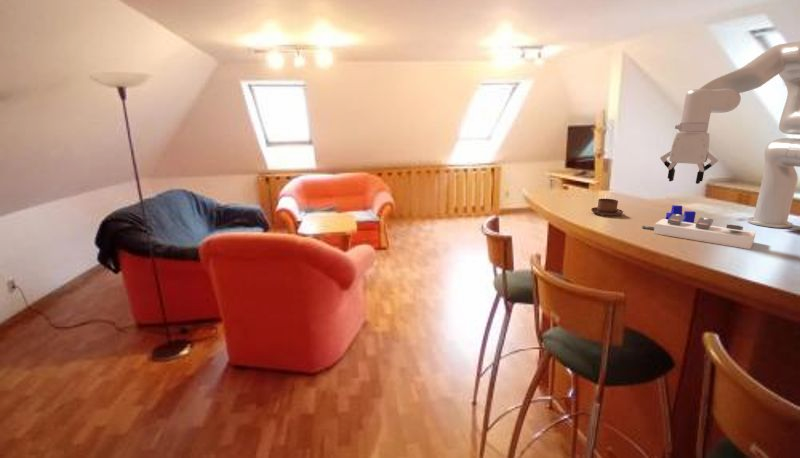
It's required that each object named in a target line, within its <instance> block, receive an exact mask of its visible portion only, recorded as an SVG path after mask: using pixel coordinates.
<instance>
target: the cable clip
mask: <svg viewBox="0 0 800 458" xmlns="http://www.w3.org/2000/svg"><path fill="white" fill-rule="evenodd" d="M696 213H697V212H696V211H692V210H689V211H688V210H685V211H684V213H683V206H682V205H677V204H676V205H675V204H672V205H671V210H670V212H666V215H665V219H669V218H670V217H671V215H672V214H680V215H685V218H684V220H683V221H682V222H689V223H695V218H696Z"/></svg>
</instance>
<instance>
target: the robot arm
mask: <svg viewBox="0 0 800 458" xmlns="http://www.w3.org/2000/svg"><path fill="white" fill-rule="evenodd" d="M777 75H779V77H780V78H781V79H782V81H783V82H784V83H785V87H786V90H787V96H786V98H785V99H786V100H785V103H784V107H783V109H782V113H781V117H780V119H779V123H778V130H779V131H780V132H781V133H782V134H786V135H795V136H796V135H797V136H800V40H799V41H792V42H786V43H785V42H784V43H781V44H777V45H774V46H772V47H770V48H768V49H767V50H765V51H763V52H762V53H761V54H760V55H758V56H756V57H755V58H754V59H753V60H751V61H750V62H748V63H746V65H744V66H742V67H740V68H737V69H735V70H733V71H730V72H728V73H726V74H724V75H721V76H719V77H716V78H714V79H712V80H710V81H709V82H707V83H705V84H703V85H702V86H701V87H700V88H697V89H690V90H688V91H687V92H686V94H685V97H684V105H683V111H682V115H681V120H680V121H681V122H680V123H679V124H676V125H675V126H674V130H679V131H678V132H676V133H675V136H674V138H673V142H672V145H671V150H670V151H669V152H667V153H665V154H663V155H662V156H660V160H661V162H662V163H663V164H664V166H665V168H667V170H668V172H667V179H668V182H672V181H674V180H675V179H674V178H675V173H676V169H675V167H676V166H677V165H678V164H690V165H692V164H693V165H697V167H698V169H699V170H698V172H697V173H696V179H695V184H697V185H699V184H701V182H703V181H704V175H705V172H706V171H707V170H709V169H710V168H711V167H713V166H714V165H716V164H717V163H718V162H719V159H718V158H716V157H715V155H713V154H712V153H710V150H709V149H710V132H708V129H709V125H710V119H711V114H719V113H720V114H721V113H729V112H731V111H734V110H735V109H737V107H738V106H739V105H740V103H741V100H742V99H741V95H740V94H741V93H746V92H749V91H753V90H755V89H759V88H761V87H762V86H763V85H764V84H767V83H768V82H769V81H770V80H772V79H774V77H776V76H777ZM763 156H764V167H763V175H762V178H761V183H760V188H759V192H758V196H757V200H756V206H755V210H754V214H753V217H748V218H747V222H748V223H749V224H751V225H755V226H756V225H757V226H760V227H767V228H777V229H779V228H780V229H788V228H792V227H793V223H792V222H791V221H789V220H788V219H789V216H790V212H791V207H792V204H793V200H794V196H795V193H796V188H797V183H798V179H799V178H798V173H797V170H796V168H797V167H798V168H800V138H795V137H794V138H790V137H786V138H785V137H784V138H777V139H774V140H772V141H771V142H769V143H768V144H767V145H766V147H765V149H764V155H763ZM668 158H669V159H668ZM708 159H709V160H710V162H709V163H708V164H706V165H705V163H706V162H707V161H708ZM670 162H671V163H670ZM795 167H796V168H795Z"/></svg>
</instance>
